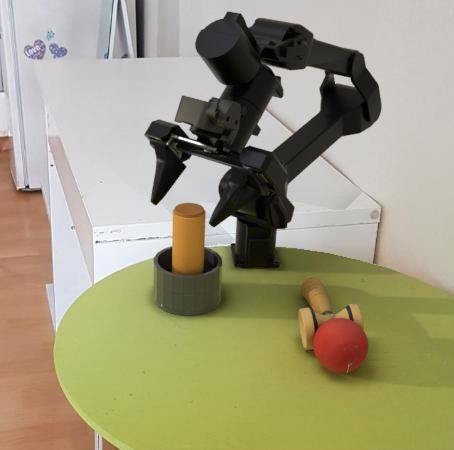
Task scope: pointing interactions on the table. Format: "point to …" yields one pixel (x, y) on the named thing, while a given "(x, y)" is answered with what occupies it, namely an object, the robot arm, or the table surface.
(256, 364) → the table surface
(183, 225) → the orange tall cylinder
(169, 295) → the pot
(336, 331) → the kendama
